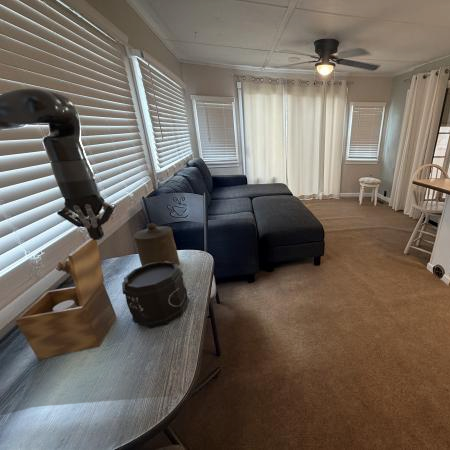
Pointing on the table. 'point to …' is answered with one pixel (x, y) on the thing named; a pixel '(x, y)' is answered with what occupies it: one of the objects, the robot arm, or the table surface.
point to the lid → (86, 270)
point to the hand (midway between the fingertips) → (98, 238)
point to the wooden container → (156, 245)
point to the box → (66, 322)
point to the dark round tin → (155, 294)
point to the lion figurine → (65, 267)
